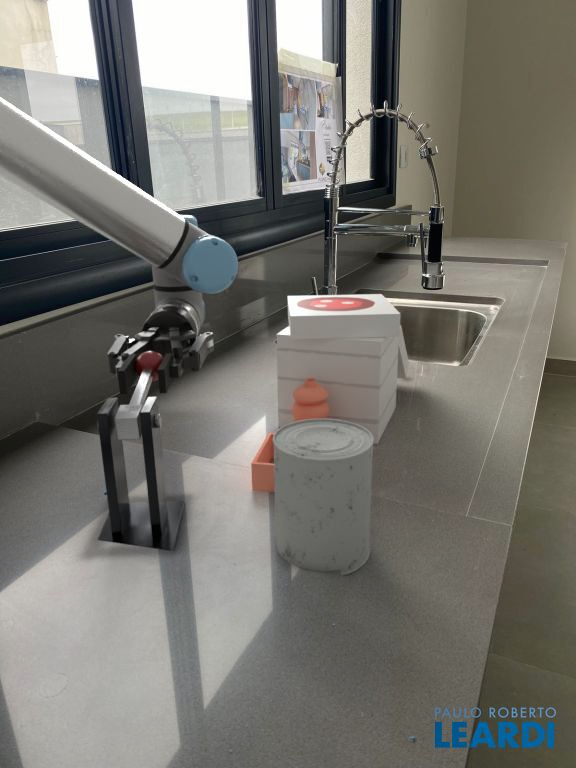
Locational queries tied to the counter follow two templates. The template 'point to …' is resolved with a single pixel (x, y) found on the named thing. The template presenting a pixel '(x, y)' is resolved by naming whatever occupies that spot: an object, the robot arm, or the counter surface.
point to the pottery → (305, 407)
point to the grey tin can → (323, 494)
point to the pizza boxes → (343, 357)
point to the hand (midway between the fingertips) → (142, 382)
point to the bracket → (158, 516)
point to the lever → (137, 397)
